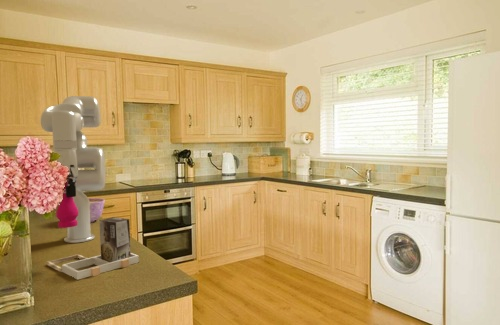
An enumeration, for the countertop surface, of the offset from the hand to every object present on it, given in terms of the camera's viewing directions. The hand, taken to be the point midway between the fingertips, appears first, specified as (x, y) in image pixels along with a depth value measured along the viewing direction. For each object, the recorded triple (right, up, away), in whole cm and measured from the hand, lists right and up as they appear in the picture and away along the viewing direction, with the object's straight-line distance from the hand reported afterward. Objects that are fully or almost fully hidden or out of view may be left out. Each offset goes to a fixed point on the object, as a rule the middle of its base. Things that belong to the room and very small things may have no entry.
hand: (67, 195), depth 135 cm
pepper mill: (0, -11, 0) cm, 11 cm away
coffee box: (+17, -25, +2) cm, 30 cm away
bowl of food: (-26, -21, +74) cm, 82 cm away
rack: (+13, -25, -2) cm, 29 cm away
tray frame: (0, -25, +1) cm, 25 cm away
